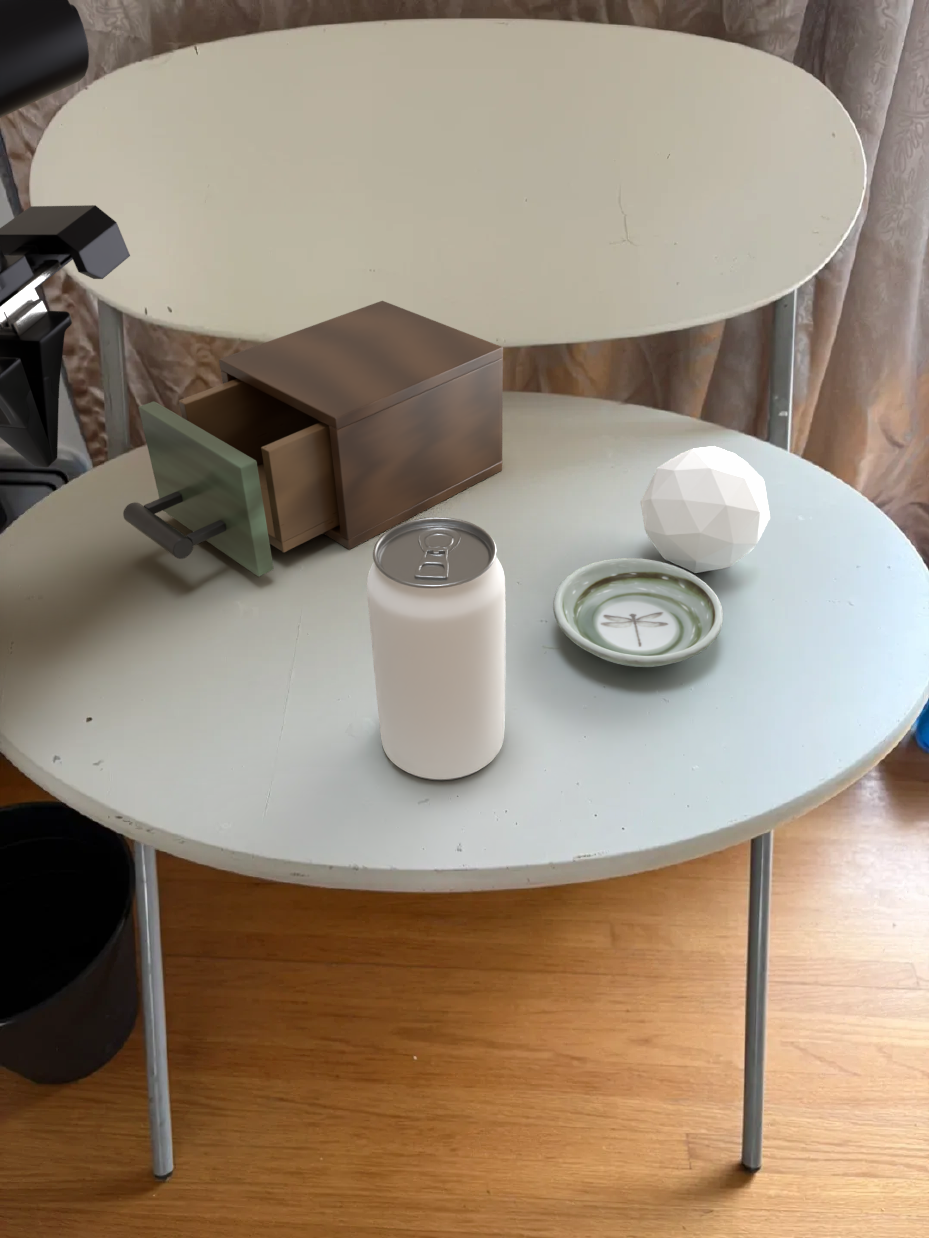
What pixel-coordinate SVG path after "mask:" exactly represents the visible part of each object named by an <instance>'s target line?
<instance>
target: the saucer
mask: <svg viewBox="0 0 929 1238" xmlns="http://www.w3.org/2000/svg"><path fill="white" fill-rule="evenodd" d="M552 610H553V611H552V612H553V615H554V619H555V621H556V624H557V626H558V627H559V629H560V630H561V631H562V633H563V634H564V635H565V636H566V637H567V638H568V639H569V640H570V641H571V642H573V643H574V644H575V645H577V646H578V647H579V648H581V649H582V650H584V651H586V652H588V653H590V654H592V655H594V656H595V657H598V658H600V659H602V660H604V661H607V662H610V663H613V664H617V665H622V666H627V667H637V668H652V667H653V668H655V667H661V666H667V665H671V664H675V663H679V662H683V661H685V660H689V659H691V658H693V657H695V656H698V655H699V654H701V653H702V652H704V651H705V650H706V649H708V648H709V647H710V646H711V645H712V644H713V643H714V641H716V639H717V638H718V636H719V634H720V632H721V629H722V627H723V624H724V611H723V606H722V603H721V601H720V599H719V597H718V596H717V594H716V593H715V591H714V590H713V589H712V588H711V587H710V586H709V585H708V584H707V583H706V582H705V581H704V580H702V579H701V578H700V577H698V576H696V575H695V574H693V572H690V571H689V570H687V569H684V568H682V567H680V566H677V565H673V564H670V563H666V562H664V561H663V562H662V561H659V560H654V559H647V558H640V557H637V558H636V557H618V558H608V559H603V560H599V561H595V562H592V563H589V564H587V565H584V566H582V567H580V568H577V569H576V570H574V571H572V572H571V573H570V574H569V575H567V576H566V577H565V578H564V579H563V580H562V582H560V584H559V585H558V587H557V588H556V591H555V592H554V596H553V602H552Z"/></svg>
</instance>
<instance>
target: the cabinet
mask: <svg viewBox="0 0 929 1238" xmlns="http://www.w3.org/2000/svg"><path fill="white" fill-rule="evenodd" d="M218 363H219V369H220V375H221V381H222V384H224V383H226V382H229V381H232V380H234V379H239V380H241V381H243V382H245V383H247V384H249V385H251V386H253V387H255V388H257V389H259V390H261V391H263V392H265V393H267V394H269V395H270V396H272V397H274V398H276V399H278V400H280V401H282V402H284V403H286V404H288V405H290V406H292V407H294V408H296V409H298V410H300V411H302V412H304V413H305V414H307V415H309V416H311V417H313V418H315V419H317V420H319V421H321V422H323V423H325V424H327V425H329V430H330V439H331V448H332V457H333V467H334V476H335V485H336V494H337V504H338V513H339V522H340V525H338V526H336V527H334V528H332V529H330V530H328V531H326V532H324V533H322V535H325V536H326V537H328V538H329V539H331V540H333V541H335V542H337V544H339V545H341V546H343V547H344V548H346V549H348V550H352V549H353V548H355V547H357V546H359V545H361V544H362V543H365V542H366V541H367V542H368V541H369V540H371V539H372V538H374V537H377V536H379V535H380V534H382V533H385V532H387V531H388V530H390V529H391V528H393V527H395V526H397V525H400V524H402V523H404V522H406V521H407V520H410V519H411V518H413V517H414V516H417V515H419V514H420V513H422V512H424V511H426V510H428V509H430V508H433V507H434V506H436V505H439V504H440V503H442V502H444V501H447V500H448V499H450V498H452V497H453V496H455V495H457V494H459V493H462V492H463V491H465V490H467V489H469V488H471V487H473V486H475V485H477V484H479V483H480V482H482V481H485V480H486V479H488V478H490V477H492V476H494V475H496V474H498V473H500V472H501V471H503V412H504V411H503V408H504V407H503V406H504V405H503V401H504V400H503V399H504V398H503V396H504V395H503V391H504V389H503V387H504V385H503V382H504V381H503V380H504V379H503V378H504V373H503V371H504V348H503V346H501V345H499V344H496V343H493V342H490V341H488V340H485V339H483V338H481V337H478V336H475V335H473V334H470V333H467V332H465V331H462V330H459V329H457V328H454V327H451V326H449V325H446V324H444V323H442V322H439V321H436V320H434V319H431V318H428V317H426V316H424V315H421V314H418V313H415V312H413V311H411V310H408V309H405V308H404V307H401V306H397V305H396V304H393V303H389V302H387V301H384V300H380V301H377V302H374V303H371V304H369V305H366V306H364V307H361V308H358V309H355V310H351V311H349V312H346V313H344V314H341V315H338V316H336V317H333V318H330V319H327V320H323V321H321V322H319V323H316V324H313V325H311V326H307V327H304V328H302V329H299V330H296V331H293V332H291V333H287V334H284V335H283V336H279V337H277V338H275V339H272V340H268V341H266V342H263V343H260V344H257V345H255V346H252V347H249V348H246V349H243V350H241V351H238V352H235V353H232V354H229V355H226V356H224V357H221V358H219V359H218Z"/></svg>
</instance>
